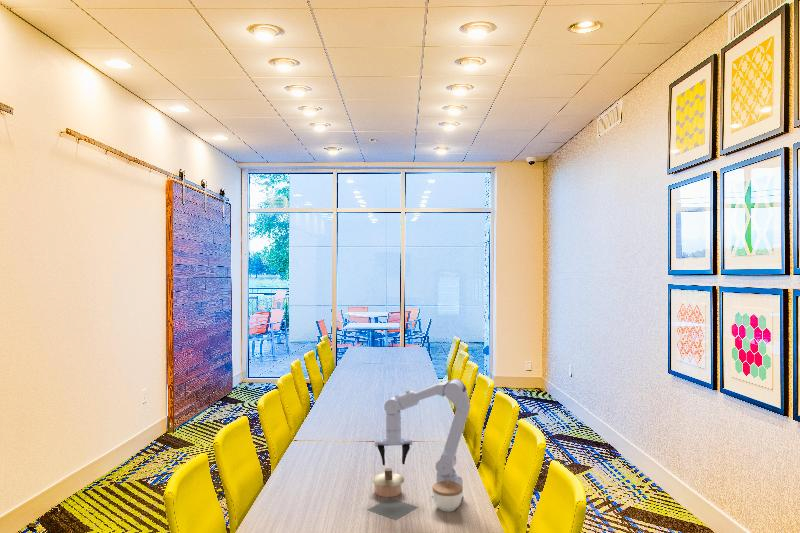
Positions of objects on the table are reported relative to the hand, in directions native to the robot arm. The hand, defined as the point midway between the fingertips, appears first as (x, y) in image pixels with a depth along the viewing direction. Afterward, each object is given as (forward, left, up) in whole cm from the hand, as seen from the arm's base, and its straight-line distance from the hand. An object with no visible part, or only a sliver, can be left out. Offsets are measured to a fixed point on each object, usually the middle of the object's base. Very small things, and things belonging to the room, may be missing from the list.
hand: (393, 464), depth 216 cm
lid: (0, +3, -6) cm, 6 cm away
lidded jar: (-25, +1, -10) cm, 27 cm away
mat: (-10, +13, -10) cm, 20 cm away
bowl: (+1, +2, -10) cm, 11 cm away
